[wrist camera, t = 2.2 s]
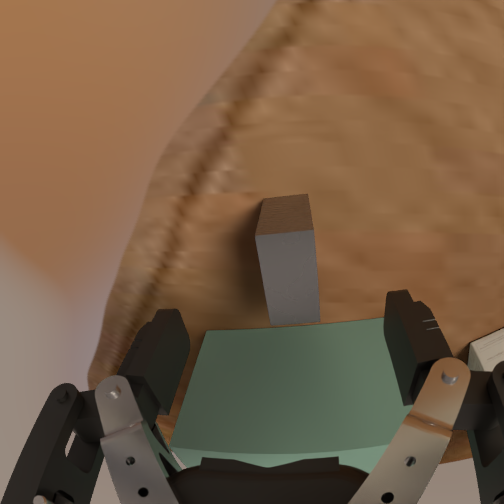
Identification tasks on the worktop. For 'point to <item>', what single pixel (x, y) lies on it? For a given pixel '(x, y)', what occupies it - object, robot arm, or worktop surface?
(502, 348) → the supplement box
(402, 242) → the worktop surface
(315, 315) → the block
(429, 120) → the worktop surface
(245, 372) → the money box
